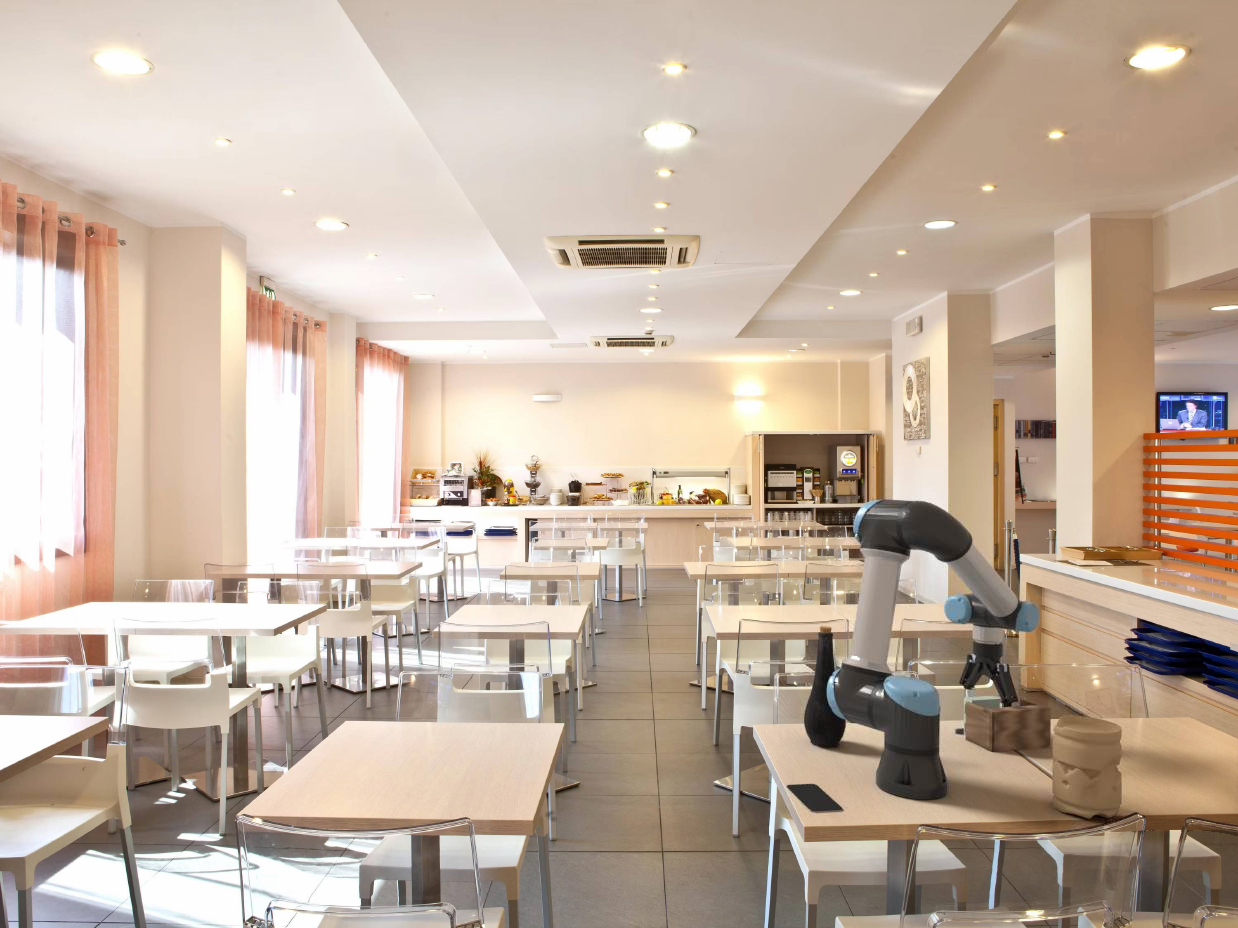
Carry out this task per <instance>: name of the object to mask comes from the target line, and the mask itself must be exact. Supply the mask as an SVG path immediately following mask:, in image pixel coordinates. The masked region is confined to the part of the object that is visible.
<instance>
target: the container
mask: <svg viewBox="0 0 1238 928" xmlns="http://www.w3.org/2000/svg"><path fill="white" fill-rule="evenodd" d="M1053 726H1054V727H1053V732H1054V733H1053V734H1052V769H1051V771H1052V773H1051V774H1052V780H1051V781H1052V782H1051V783H1052V784H1051V785H1052V787H1051V789H1052V790H1051V791H1052V794H1053V795H1052V800H1051V801H1052V805H1053V807H1052V808H1054V809H1056V811H1058V812H1063V813H1062V814H1066V813H1067V814H1068V815H1069V814H1070V815H1076V816H1079V817H1083V818H1086V819H1089V820H1090V819H1092V817H1094V816H1099V817H1102V818H1106V819H1107V818H1113V817H1114V816H1116V814H1117V813H1118V812H1119V811H1120V809H1121V805H1122V801H1123V800H1122V798H1123V797H1122V796H1123V794H1122V793H1123V790H1122V789H1123V788H1122V787H1123V784H1122V781H1123V780H1122V776H1123V775H1122V771H1120V770H1119V768H1118V766H1119V765H1120V763H1121V760H1122V750H1123V748H1122V743H1121V740H1122V737H1123V736H1122V735H1123V734H1122V733H1123V731H1122V727H1121V725H1119V724H1117V723H1114V722H1112V721H1110V720H1109V721H1108V720H1105V719H1102V718H1097V717H1091V716H1080V715H1076V714H1075V715H1074V714H1069V715H1067V714H1066V715H1062V716H1061V717H1059V718H1058V721H1057V722H1056V724H1055V725H1053Z"/></svg>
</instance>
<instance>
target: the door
mask: <svg viewBox="0 0 1238 928" xmlns="http://www.w3.org/2000/svg"><path fill="white" fill-rule="evenodd" d="M1001 701H1002V699H1001V697H1000V695H999V694H997V695H981V696H976V697H965V696H964V697H963V728H964V730H965V723H966V714H965V704H966V702H971V703H973V704H976V705H978V706H981V707H983V708H1000V702H1001ZM963 735H964V736H965V732H964V733H963Z"/></svg>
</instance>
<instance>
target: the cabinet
mask: <svg viewBox="0 0 1238 928" xmlns="http://www.w3.org/2000/svg"><path fill="white" fill-rule="evenodd" d="M1051 711H1052V710H1051V707H1048V706H1045V705H1043V704H1040V703H1038V702H1035V701H1031V700H1029V699H1026V698H1024V697H1021V698H1019V706H1012V707H1001V708H983V707H981V706H978V705H976V704H973V703H971V702H966V704H965V714H966V723H965V730H964V727H963V728H962V727H960V728H955V729H954V732H955V734H956V735H959V734H964V732H965V735H964V736H965V740H966V741H967V742H970V743H972V744H974V745H977V746H978V747H980V748H983V749H985V750H986V751H989V752H1005V751H1015V750H1019V751H1020V750H1027V749H1028V750H1030V749H1041V748H1051V745H1052V743H1051V736H1052V735H1051V734H1052V733H1051V729H1052V728H1051V727H1052V726H1051V725H1052V723H1051V719H1052V718H1051V717H1052V713H1051Z"/></svg>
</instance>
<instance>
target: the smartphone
mask: <svg viewBox="0 0 1238 928" xmlns="http://www.w3.org/2000/svg"><path fill="white" fill-rule="evenodd" d="M785 788H786V789H787V790H788V791H789V792H790V793H791V794H792V795H793V796H794V797H795V798H796V799H797V800H798V801H799V802H800V803H801V804H802V806H804V807H805V808H806V809H807V810H808V811H809V812H811V813H814V814H815V813H816V814H817V813H819V814H820V813H821V814H822V813H835V812H837V813H838V812H842V811H844V808H843V806H841V805H840V804H839V802H838V803H837V802H836V800H834V799H833V798H832V797H831V796H830V795H829V794H828V793H827V792H825V791H824V790H823V788H821V787H820V786H819V785H818V784H816V783H798V784H786V786H785Z"/></svg>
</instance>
